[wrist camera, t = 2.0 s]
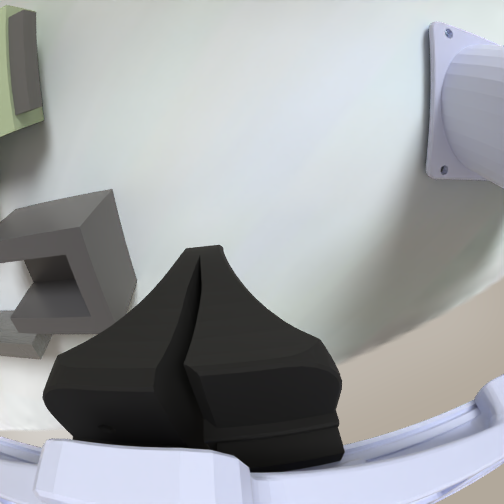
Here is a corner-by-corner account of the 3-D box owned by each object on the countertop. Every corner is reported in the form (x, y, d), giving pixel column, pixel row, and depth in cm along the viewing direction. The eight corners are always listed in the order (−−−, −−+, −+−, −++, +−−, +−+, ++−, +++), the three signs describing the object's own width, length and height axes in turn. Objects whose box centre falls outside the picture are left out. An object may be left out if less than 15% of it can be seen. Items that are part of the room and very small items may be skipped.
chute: (113, 187, 13) (79, 226, 10) (137, 278, 16) (120, 333, 12) (17, 207, 13) (-26, 245, 9) (47, 286, 15) (18, 333, 12)
